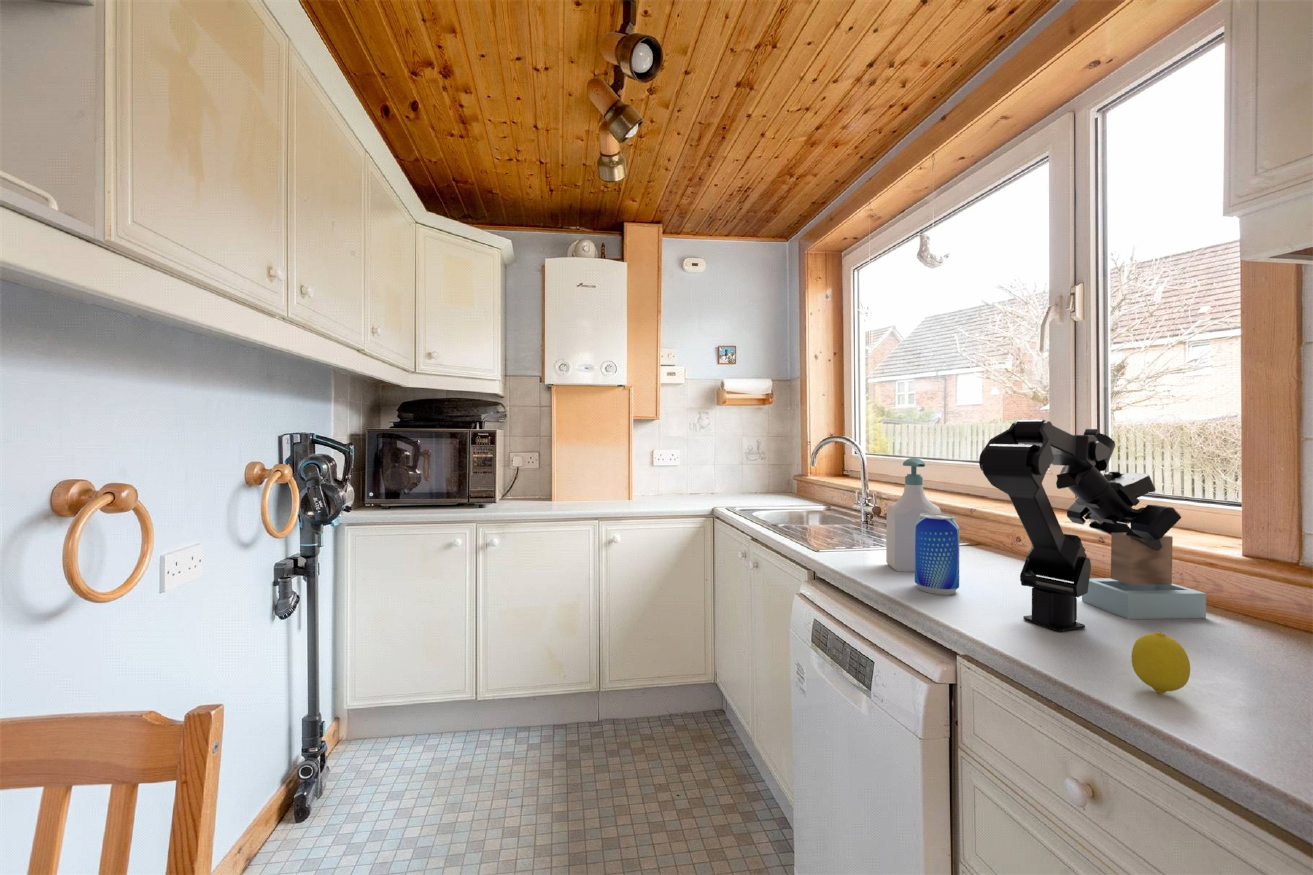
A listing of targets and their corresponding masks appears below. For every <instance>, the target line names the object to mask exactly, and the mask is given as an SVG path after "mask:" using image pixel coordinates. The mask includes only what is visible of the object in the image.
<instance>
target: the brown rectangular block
mask: <svg viewBox="0 0 1313 875" xmlns="http://www.w3.org/2000/svg"><path fill="white" fill-rule="evenodd" d="M1127 533H1128V532H1111V535H1110V536H1111V538H1110V541H1111V542H1110V545H1111V546H1110V578H1111V579H1114V580H1117V581H1120V582H1123V583H1126V584H1129V585H1172V584H1173V538H1174V537H1173V535H1167V534H1165V535H1164V536H1163V537H1162V538H1161V539H1160V542H1161V545H1162V548H1161V549H1160V550H1159V551H1157V550H1154V549H1152V548H1150V547H1148V546H1146V545H1144V544H1142V543H1140V542H1139V541H1137V540H1135V539H1133V538H1131V537H1129V536H1127V535H1126V534H1127Z"/></svg>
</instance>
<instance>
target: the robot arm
mask: <svg viewBox="0 0 1313 875" xmlns="http://www.w3.org/2000/svg"><path fill="white" fill-rule="evenodd" d="M1115 448H1116V442H1115V440H1113V439H1112V438H1111V437H1110V436H1108V435H1106V434H1104V433H1101V432H1100V431H1099V429H1098V428H1085V430H1084V432H1083V434H1071V433H1069V432H1067V431H1065V430H1063V429H1061V428H1059V427H1057V426H1055V425H1053V423H1052V422H1051V421H1048V420H1046V419H1018V420H1017V421H1013V423H1012V424H1011V425H1010V426H1009V428H1008V429H1007V430H1005V431H1003V432H1000V433H999V434H998V435H995V436H994V437H992V438H991V439H989V441H988V442H987V443H986V445H985V447H984V448H983V449H982V451H981V453H980V454H979V459H978V464H979V468H980V470H981V471H982V473H983V475H984V477H985V478H986V479H987V481H988V482H989V483H990V485H991V486H993V487H994V488H996V489H997V490H999V491H1001V492H1003V493H1005V494H1006V495H1007V496H1008V498H1009V499H1010V502H1011V504H1012V505H1013V507H1014V509H1015V512H1016V514H1017V516H1018V518H1019V520H1020V522H1021V524H1022V526H1023V529H1024V531H1025V533H1026V534H1027V537H1028V540H1030V543H1031V547H1030V549H1029V551H1028V554H1027V556H1026V558H1025V562H1024V564H1023V566H1022V569H1021V572H1020V575H1019V578H1020V585H1021V586H1023V587H1029V588H1030V587H1031V614H1029V615H1024V616H1023V618H1022V619H1023V620H1025V621H1027V622H1030V623H1032V624H1036V625H1037V626H1041V627H1044V628H1046V629H1049V630H1053V631H1055V632H1067V631H1073V630H1074V631H1075V630H1080V629H1086V624H1084V623H1080V622H1079V621H1077V620H1078V614H1077V613H1078V606H1077V605H1078V602H1077V601H1078V600H1077V598H1080V597H1082V595H1084V594H1086V593H1088V586H1089V579H1090V576H1091V571H1092V563H1091V559H1090V557H1088V556H1087V553H1086V548H1085V547H1084V545H1083V543H1082V540H1081V539H1082V538H1080V536H1078V535H1077V534H1076V535H1075V534H1068V533H1064V531H1063V529H1062V528H1061V525H1060V522H1059V520H1058V518H1057V515H1056V513H1055V510H1054V509H1053V505H1052V504H1051V502H1050V499H1049V497H1048V495H1047V493H1046V490H1045V488H1044V486H1043V481H1044V479H1045V475H1046V474H1047V471H1048V470H1049V468H1050V467H1051V465H1052V466H1063V467H1062V469H1061V470H1060V472H1059V473H1057V474H1056V477H1057V478H1056V483H1055V484H1056V488H1057V490H1061V489H1066V488H1068V490H1069V491H1070V492H1072V493H1073V494H1074V496H1076V499H1075V500H1074V502H1073V504H1071V505H1070V507H1068V508H1067V510H1066V517H1067V519H1069V520H1070V521H1071V522H1072V523H1074V524H1079V525H1085V524H1086V521H1089V522H1090V523H1089V524H1088V527H1089V528H1090V529H1094V530H1097V531H1099V532H1101V533H1104V534H1106V535H1108V536H1111V532H1128V533H1127V534H1126V535H1127V536H1129V537H1131V538H1133V539H1135V540H1137V541H1139V542H1140V543H1142V544H1144V545H1146V546H1148V547H1150V548H1152V549H1154V550H1157V551H1159V550H1160V549H1161V548H1162V545H1161V542H1160V539H1161V538H1162V537H1163V536H1164V535H1167V533H1168V532H1169V531H1170V530H1171V529H1172V528H1173V527H1175V525H1176V524H1177V523H1178V522H1179V521H1181V519H1182V515H1181V514H1180V513H1179V512H1178V511H1177V510H1176V508H1174V507H1171V506H1164V505H1158V504H1147V505H1146V506H1145V507H1144V506H1143V507H1140V508H1137V509H1136V508H1133V506H1134V507H1136V506H1137V505H1138V504H1140V502H1141V500H1140V499H1138V498H1140V497H1142V496H1145V495H1147V494H1148V493H1153V492H1155V491H1156V486H1154V483H1153V480H1152V479H1151V477H1150V474H1149V473H1141V472H1140V473H1139V472H1122V473H1121V472H1119V471H1117V470H1116V471H1114V470H1108V471H1106V470H1107V467H1108V464H1109V462H1110V460H1111V458H1112V454H1113V452H1114V450H1115ZM1104 471H1106V472H1105V473H1104V474H1103V473H1102V472H1104ZM1129 524H1130V526H1129Z"/></svg>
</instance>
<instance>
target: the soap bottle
mask: <svg viewBox="0 0 1313 875" xmlns="http://www.w3.org/2000/svg"><path fill="white" fill-rule="evenodd" d="M903 466H904V467H910V469H911V470H910V473H907V474H906V475H905V476H904V483H905V484H904V489H903V493H902V495H901V496H900V497H899V498H898V499H897V500H896V501H895V502H893V503H892V504H889V505H888V506H887V510H886V519H885V520H886V526H885V527H886V538H885V540H886V545H885V546H886V555H885V556H886V564H887V565H889V567H891V568H892V569H893V570H895V571H896V572H914V573H915V524H916V522H917V521H918V519H919V518H920V514H923V513H938V514H942V510H941V508H940V507H939V506H938V505H936V504H934V503H933V502H931V501H930V500H929V499H928V498H927V496H926V494H925V492H924V486H923V485H924V484H923V476H922V475H921V474H920V473H919V474H918V473H917V468H924V467H925V466H926V463H925V461H923V460H922V459H921V458H917V457H910V458H906V459H905V460H904V461H903V462H902V467H903Z"/></svg>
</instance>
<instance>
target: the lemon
mask: <svg viewBox="0 0 1313 875" xmlns="http://www.w3.org/2000/svg"><path fill="white" fill-rule="evenodd" d="M1130 657H1131V665H1132V668H1133V672H1134V673H1135V675H1136V676H1137V677H1138V678H1139V679H1140V681H1141V682H1143V683H1144V684H1145V685H1147V686H1148V687H1150V688H1152V689H1153V691H1155V693H1157V692H1158V693H1157V694H1160V693H1163V694H1166V693H1167V692H1174V691H1178V690H1180V689H1182V688H1183V687H1185V686H1186V684H1187V683H1188V682H1189V679H1190V675H1191V663H1190V659H1189V656H1188V654H1187V652H1186V650H1185V649H1184V647H1183V646H1182V645H1181V644H1180V643H1179V642H1178V641H1176V640H1175V639H1173V638H1172V637H1170V636H1167V635H1166V634H1165V633H1164V632H1160V631H1156V632H1155V633H1147V634H1145V635H1142V636H1140V637H1139V638H1138V639H1136V641H1135V642H1134V644H1133V647H1132V650H1131V656H1130Z"/></svg>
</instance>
